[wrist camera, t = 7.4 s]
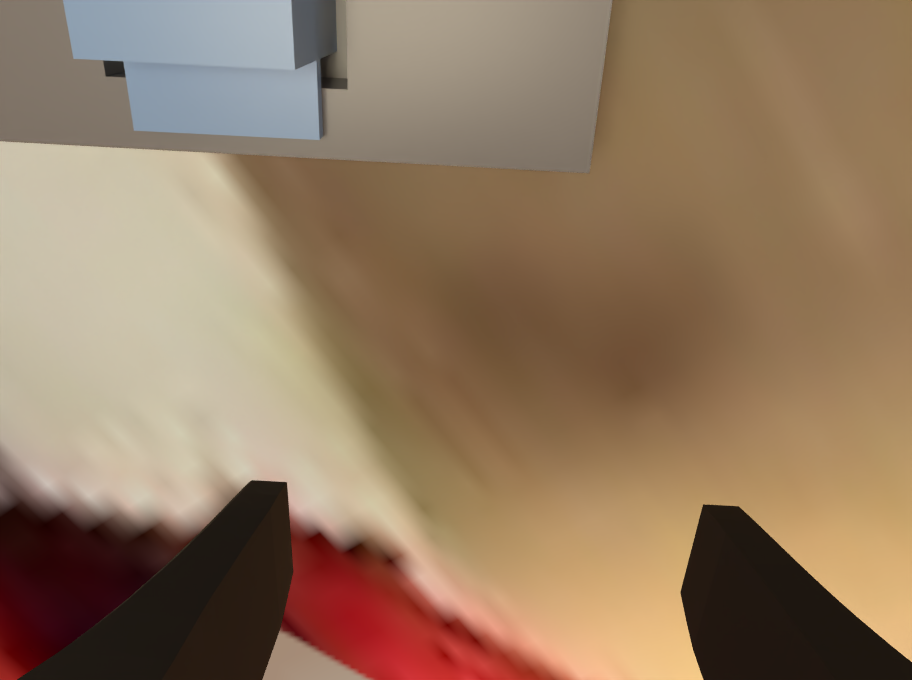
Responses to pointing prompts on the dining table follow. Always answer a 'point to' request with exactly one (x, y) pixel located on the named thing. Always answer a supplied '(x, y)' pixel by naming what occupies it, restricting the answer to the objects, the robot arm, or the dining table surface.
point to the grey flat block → (357, 86)
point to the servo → (213, 61)
